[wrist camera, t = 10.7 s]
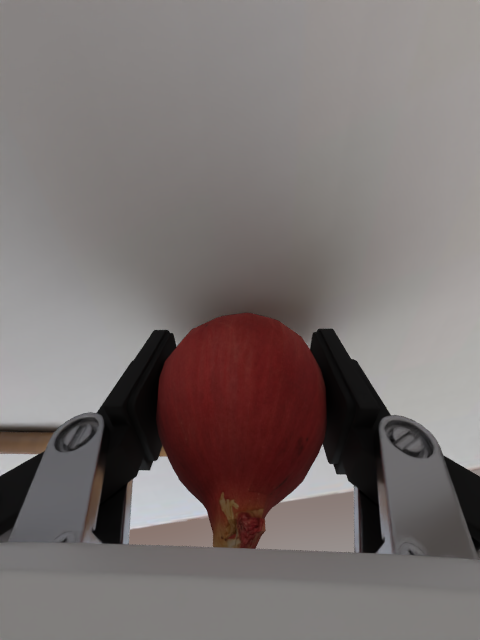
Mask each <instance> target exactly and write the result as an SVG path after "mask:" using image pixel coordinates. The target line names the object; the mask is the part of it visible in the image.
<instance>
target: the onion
mask: <svg viewBox="0 0 480 640" xmlns="http://www.w3.org/2000/svg"><path fill="white" fill-rule="evenodd" d="M156 423H157V428H158V434H159V437H160V440H161V443H162V445H163V448H164V450H165V452H166V455H167V457H168V459H169V461H170V463H171V465H172V467H173V469H174V471H175V473H176V474H177V476H178V478H179V480H180V481H181V482H182V483H183V485H184V486H185V487H186V488H187V489H188V490H189V491H190V492H191V493H192V494H193V495H194V496H195V497H196V498H197V499H198V500H199V501H200V502H201V503H202V504H203V505H204V507H205V508H206V510H207V512H208V516H209V520H210V523H211V527H212V530H213V547H221V548H249V549H255V548H256V546H257V544H258V542H259V539H260V537H261V536H262V534H263V533H264V532H265V516H266V515H267V513H268V512H269V510H270V509H271V508H272V507H274V506H275V505H276V504H278V503H279V502H280V501H282V500H283V499H284V498H285V497H286V496H288V495H289V494H290V493H291V492H292V491H293V490H294V489H296V488H297V487H298V486H299V485H300V484H301V483H302V482H303V480H304V478H305V477H306V475H307V473H308V471H309V469H310V468H311V466H312V464H313V462H314V461H315V459H316V457H317V455H318V453H319V451H320V448H321V446H322V444H323V441H324V438H325V432H326V427H327V409H326V386H325V382H324V379H323V375H322V371H321V369H320V367H319V365H318V363H317V361H316V360H315V358H314V356H313V354H312V353H311V351H310V349H309V347H308V346H307V345H306V343H305V342H304V340H303V339H302V337H301V336H300V335H298V334H297V333H295V332H294V331H293V330H291V329H290V328H288V327H287V326H285V325H284V324H282V323H281V322H280V321H278V320H275V319H272V318H268V317H264V316H260V315H256V314H252V313H240V314H233V315H225V316H221V317H218V318H215V319H213V320H211V321H209V322H206V323H204V324H202V325H200V326H198V327H196V328H193V329H192V330H191V331H190V332H189V333H188V334H187V335H186V337H185V338H184V339H183V340H182V341H181V342H180V344H179V345H178V346H177V347H176V349H175V350H174V351H173V352H172V353H171V355H170V356H169V357H168V358H167V359H166V361H165V363H164V366H163V369H162V372H161V374H160V377H159V386H158V399H157V412H156Z"/></svg>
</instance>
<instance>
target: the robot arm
mask: <svg viewBox="0 0 480 640" xmlns="http://www.w3.org/2000/svg"><path fill="white" fill-rule="evenodd" d="M175 349H176V343H175V338H174V335H173V333H170V332H169V331H168V330H154V331H153V333H152V334H151V336H150V337H149V338H148V340H147V341H146V343H145V344H144V346H143V347H142V349H141V350H140V352H139V353H138V355H137V356H136V358H135V359H134V361H132V362H131V363H130V365H129V366H128V368H127V369H126V371H125V372H124V374H123V375H122V377H121V378H120V379H119V381H118V382H117V384H116V385H115V387H114V388H113V390H112V391H111V393H110V394H109V396H108V397H107V399H106V400H105V402H104V403H103V404H102V406H101V407H100V409H99V410H98V412H97V413H92V412H90V413H83V414H81V415H78V416H75V417H73V418H72V419H70V420H68V421H66V422H65V423H64V424H63V425H61V426H60V427H59V428H58V429H57V430H56V431H55V432H54V433H53V435H52V437H51V438H50V440H49V442H48V444H47V447H46V449H45V451H44V452H42V453H40V454H38V455H37V456H35V457H33V458H31V459H30V460H28V461H26V462H24V463H23V464H21V465H19V466H17V467H16V468H14V469H12V470H10V471H8V472H7V473H5V474H3V475H1V476H0V640H480V477H479V476H478V475H476V474H474V473H473V472H471V471H469V470H468V469H466V468H464V467H462V466H461V465H459V464H457V463H455V462H454V461H452V460H450V459H449V458H447V457H445V456H443V454H442V451H441V448H440V446H439V444H438V442H437V440H436V438H435V437H434V436H433V435H432V434H431V433H430V431H428V430H427V429H426V428H425V427H423V426H422V425H421V424H419V423H417V422H415V421H414V420H412V419H409V418H406V417H404V416H398V415H390V413H389V412H388V410H387V408H386V407H385V405H384V404H383V402H382V400H381V399H380V397H379V396H378V394H377V392H376V391H375V389H374V388H373V386H372V384H371V383H370V381H369V380H368V378H367V376H366V375H365V373H364V372H363V370H362V369H361V367H360V365H359V364H358V362H357V361H356V360H354V359H351V358H350V356H349V355H348V353H347V351H346V350H345V348H344V346H343V345H342V343H341V341H340V340H339V338H338V336H337V335H336V333H335V331H334V330H333V329H318V330H317V332H314V333H313V335H312V341H311V347H310V351H311V353H312V354H313V356H314V358H315V360H316V361H317V363H318V365H319V367H320V369H321V371H322V375H323V379H324V382H325V386H326V409H327V427H326V432H325V438H324V441H323V446H324V450H325V453H326V456H327V460H328V462H329V463H330V464H334V467H335V470H336V474H346V475H347V478H348V481H349V482H351V483H352V484H353V485H354V537H355V538H354V543H355V553H351V552H327V551H302V550H277V549H249V548H221V547H191V546H190V547H189V546H162V545H129V531H130V515H131V499H132V483H133V478H135V477H136V476H137V474H138V471H139V470H150V468H151V466H152V463H153V461H156V460H157V459H158V457H159V455H160V452H161V449H162V446H163V445H162V443H161V440H160V437H159V434H158V428H157V423H156V412H157V399H158V386H159V377H160V374H161V372H162V369H163V366H164V363H165V361H166V359H167V358H168V357H169V356H170V355H171V353H172V352H173V351H174V350H175Z"/></svg>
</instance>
